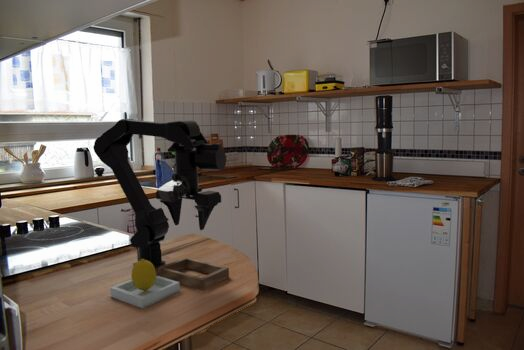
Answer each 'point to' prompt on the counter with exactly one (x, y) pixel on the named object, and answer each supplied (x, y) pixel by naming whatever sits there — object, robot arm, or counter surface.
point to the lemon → (143, 275)
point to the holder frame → (172, 273)
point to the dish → (144, 299)
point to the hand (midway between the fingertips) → (188, 227)
